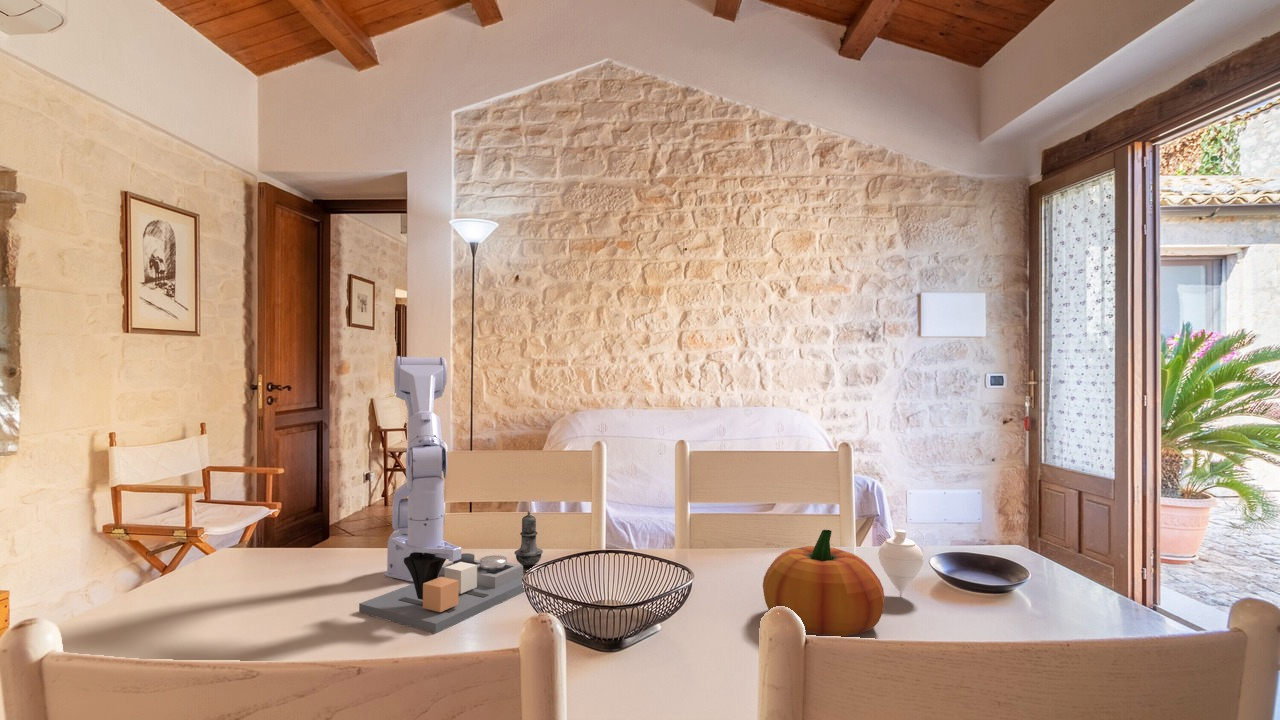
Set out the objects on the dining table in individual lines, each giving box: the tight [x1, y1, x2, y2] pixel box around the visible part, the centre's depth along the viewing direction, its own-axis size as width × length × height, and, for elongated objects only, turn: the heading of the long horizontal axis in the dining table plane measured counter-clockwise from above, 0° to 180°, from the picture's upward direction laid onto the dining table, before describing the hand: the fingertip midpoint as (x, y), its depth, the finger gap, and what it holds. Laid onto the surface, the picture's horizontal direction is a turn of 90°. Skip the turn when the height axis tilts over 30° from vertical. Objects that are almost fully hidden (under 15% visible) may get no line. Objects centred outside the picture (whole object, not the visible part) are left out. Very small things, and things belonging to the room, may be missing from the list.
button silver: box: [479, 554, 508, 571], centre depth 121 cm, size 5×5×2 cm
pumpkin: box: [762, 529, 885, 637], centre depth 104 cm, size 19×19×15 cm
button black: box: [453, 552, 475, 564], centre depth 124 cm, size 4×4×1 cm
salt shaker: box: [513, 511, 544, 574], centre depth 132 cm, size 6×6×12 cm
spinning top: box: [878, 529, 924, 597], centre depth 116 cm, size 8×8×12 cm
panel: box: [358, 559, 525, 634], centre depth 114 cm, size 18×26×4 cm
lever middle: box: [444, 562, 477, 594], centre depth 114 cm, size 4×4×4 cm
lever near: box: [423, 577, 459, 612], centre depth 105 cm, size 4×4×4 cm
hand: (425, 597), depth 107 cm, fingers closed
